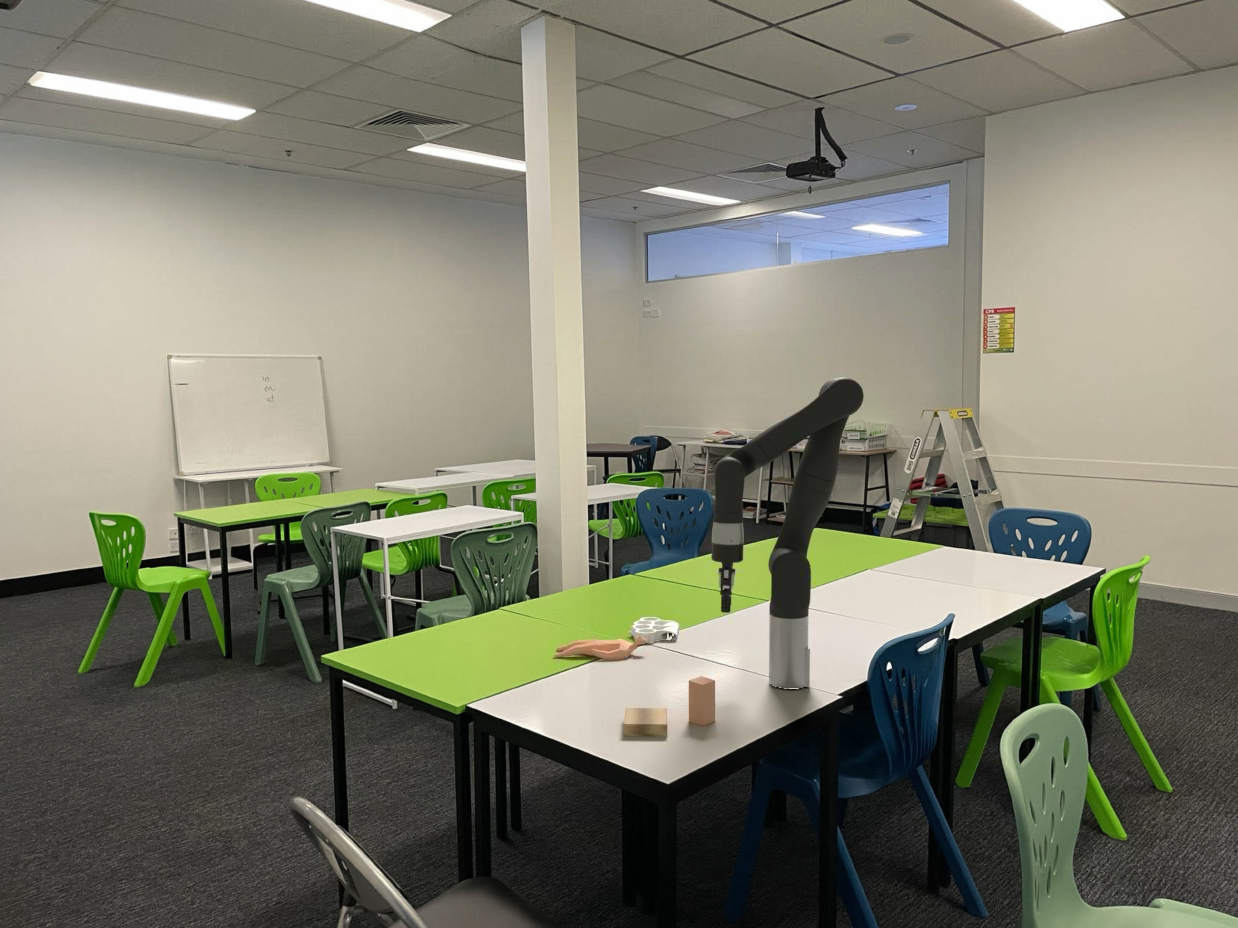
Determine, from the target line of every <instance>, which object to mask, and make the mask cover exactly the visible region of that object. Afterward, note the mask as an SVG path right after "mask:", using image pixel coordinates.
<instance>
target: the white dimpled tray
mask: <svg viewBox="0 0 1238 928" xmlns="http://www.w3.org/2000/svg"><path fill="white" fill-rule="evenodd" d="M629 628H630V629H631V630H629V631H627V632H626V633H627V634H628V635H631V637H632V636H633V637H634V638H639V636H640V637H643V638H646V643H649V644H652V643H651V642H654V643H656V642H658V641H657V640H666V639H667V633H668V632H669V633H670V634H672V633H673V634H674V636H672V641H671V642H674V641H675V640H676V639H677V638H678V634H679V630H680V623H678V622H677V621H675V620H670V619H669V620H668V619H667V620H666V619H665V620H664V619H661V618H659V617H657V616H645V617H640V618H639V620H637V621H636V620H635V621H634V622H633V623H632V625H631V626H630V627H629ZM633 637H632V638H633ZM634 638H633V639H634ZM655 641H656V642H655Z"/></svg>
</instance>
